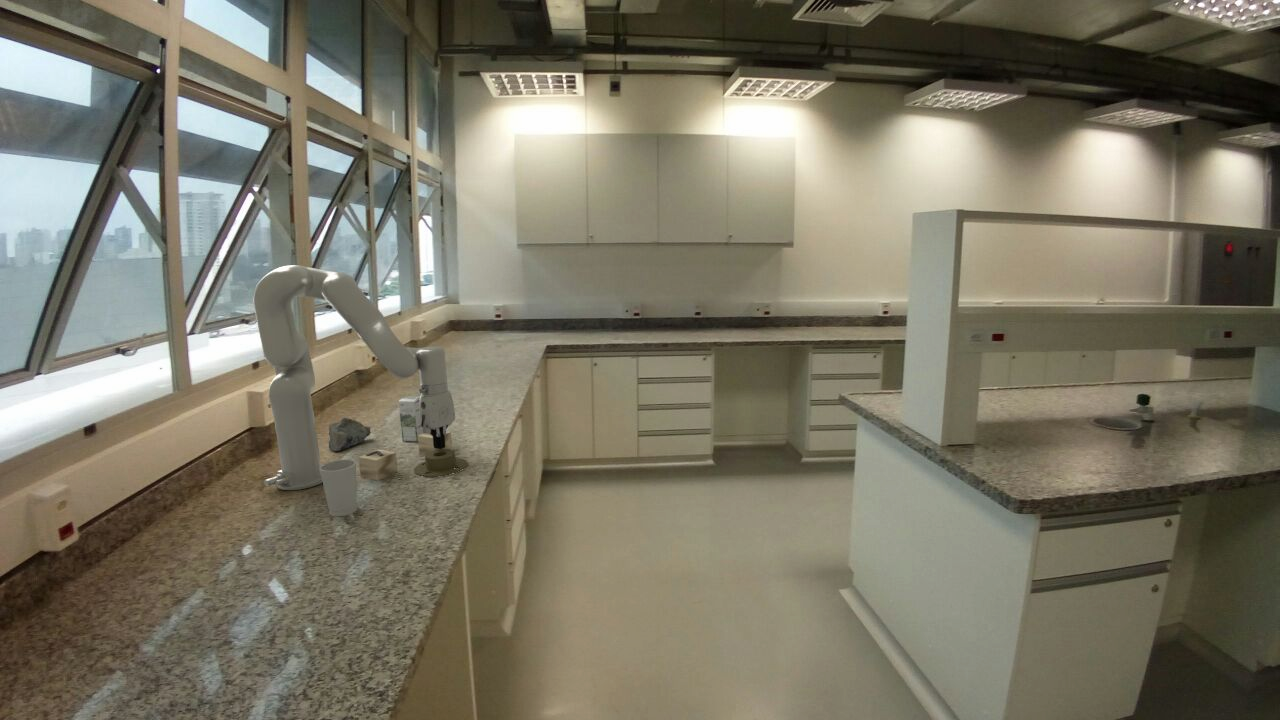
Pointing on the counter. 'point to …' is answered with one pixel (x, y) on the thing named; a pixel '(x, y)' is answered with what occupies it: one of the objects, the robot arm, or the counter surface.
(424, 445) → the numeral block one
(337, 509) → the cup
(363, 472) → the numeral block seven
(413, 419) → the syrup box
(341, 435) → the mineral rock
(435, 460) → the flange
